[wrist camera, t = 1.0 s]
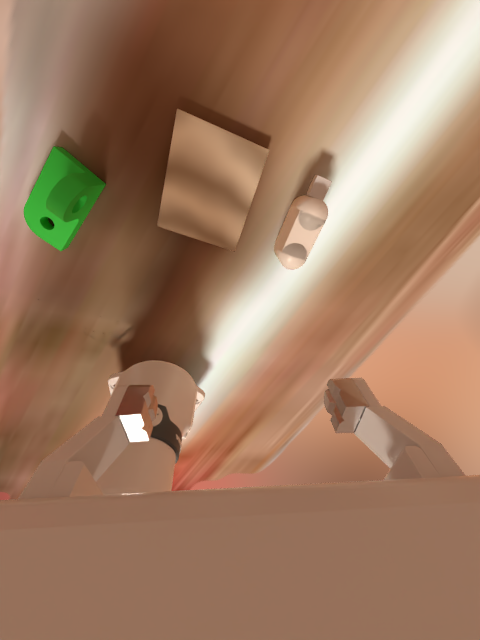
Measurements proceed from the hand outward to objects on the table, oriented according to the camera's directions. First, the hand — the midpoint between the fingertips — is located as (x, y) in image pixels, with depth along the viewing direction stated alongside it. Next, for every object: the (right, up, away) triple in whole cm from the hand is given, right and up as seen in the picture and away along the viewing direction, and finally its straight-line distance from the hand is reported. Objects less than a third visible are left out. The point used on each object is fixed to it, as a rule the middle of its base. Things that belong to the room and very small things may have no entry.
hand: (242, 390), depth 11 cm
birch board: (-4, +22, +23) cm, 32 cm away
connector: (+9, +19, +27) cm, 34 cm away
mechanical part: (-25, +20, +23) cm, 40 cm away
